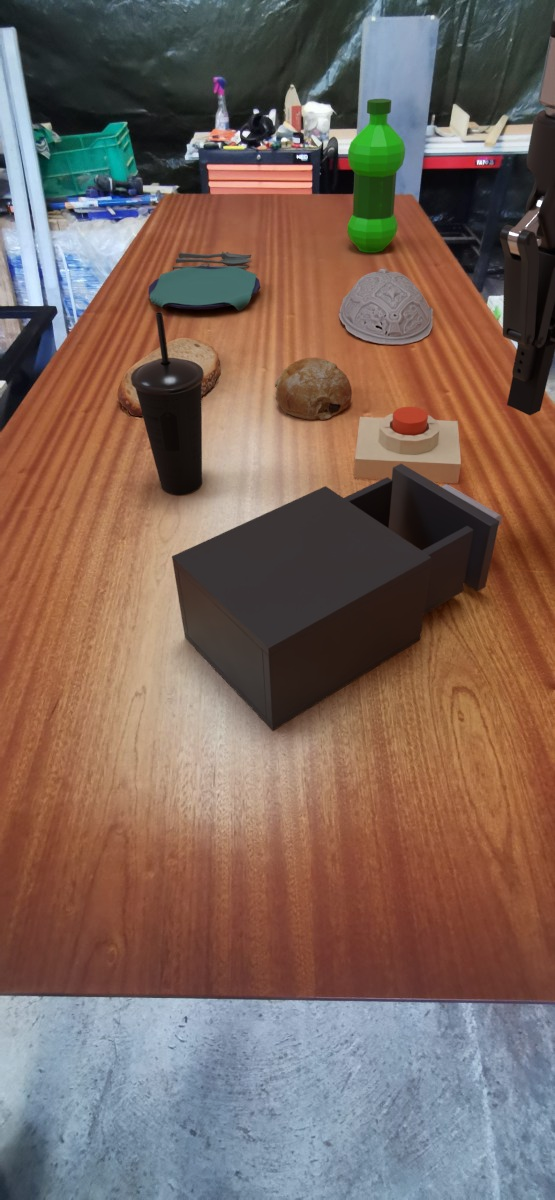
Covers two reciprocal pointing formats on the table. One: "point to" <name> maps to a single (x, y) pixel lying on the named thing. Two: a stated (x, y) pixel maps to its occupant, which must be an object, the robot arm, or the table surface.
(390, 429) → the control block
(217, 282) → the cutlery set
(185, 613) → the cabinet
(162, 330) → the drinking cup
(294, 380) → the bread roll
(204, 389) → the slice of bread
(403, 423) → the button
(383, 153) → the plastic bottle
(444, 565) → the drawer
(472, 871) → the table surface
